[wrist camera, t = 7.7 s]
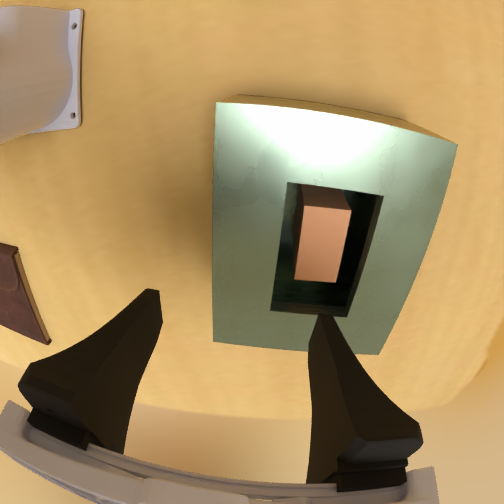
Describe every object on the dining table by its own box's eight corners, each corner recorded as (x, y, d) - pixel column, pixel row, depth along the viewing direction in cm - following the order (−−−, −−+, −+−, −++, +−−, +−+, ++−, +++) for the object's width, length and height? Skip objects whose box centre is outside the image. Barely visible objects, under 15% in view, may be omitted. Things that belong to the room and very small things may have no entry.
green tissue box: (238, 94, 17) (216, 102, 12) (406, 121, 17) (457, 144, 11) (228, 278, 25) (213, 341, 19) (361, 291, 24) (378, 354, 19)
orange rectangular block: (299, 174, 19) (304, 205, 15) (336, 178, 19) (351, 210, 15) (292, 236, 22) (294, 279, 17) (326, 239, 21) (335, 282, 17)
